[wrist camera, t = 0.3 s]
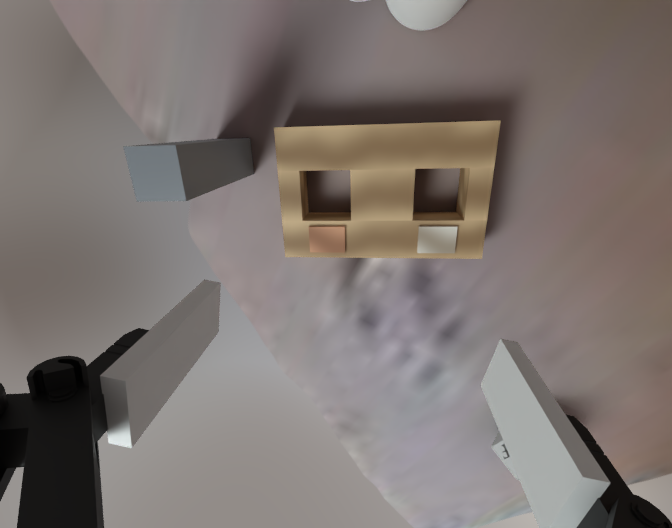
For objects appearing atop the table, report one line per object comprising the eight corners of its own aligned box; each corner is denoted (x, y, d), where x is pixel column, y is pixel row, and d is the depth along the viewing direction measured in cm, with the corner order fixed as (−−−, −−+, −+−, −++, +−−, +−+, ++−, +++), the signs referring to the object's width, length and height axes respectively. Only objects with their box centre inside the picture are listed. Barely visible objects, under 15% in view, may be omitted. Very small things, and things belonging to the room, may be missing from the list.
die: (531, 389, 49) (506, 440, 43) (593, 438, 46) (576, 502, 39) (498, 412, 55) (472, 460, 48) (550, 457, 51) (530, 515, 45)
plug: (216, 138, 40) (123, 146, 25) (249, 137, 39) (175, 145, 24) (221, 174, 41) (136, 201, 26) (254, 173, 41) (186, 201, 26)
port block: (283, 127, 38) (273, 127, 34) (487, 121, 36) (501, 120, 32) (292, 245, 44) (284, 257, 40) (471, 246, 41) (482, 259, 37)
